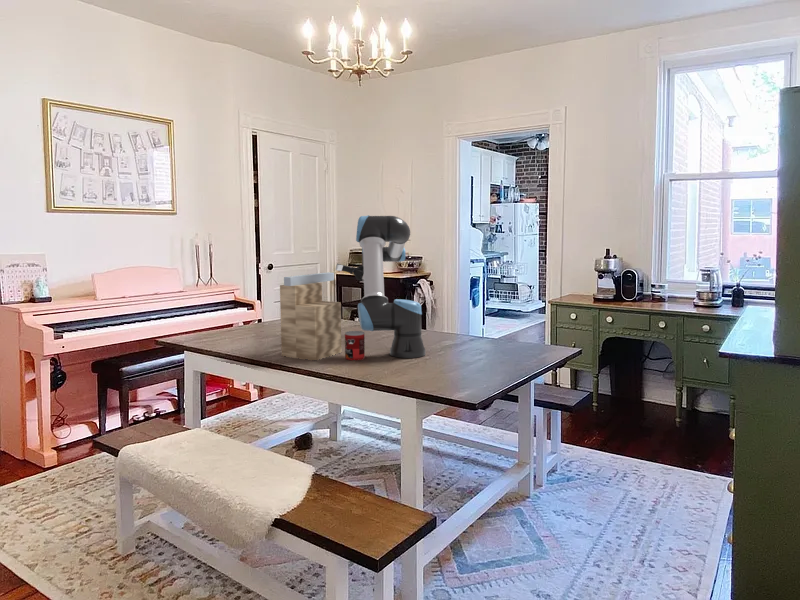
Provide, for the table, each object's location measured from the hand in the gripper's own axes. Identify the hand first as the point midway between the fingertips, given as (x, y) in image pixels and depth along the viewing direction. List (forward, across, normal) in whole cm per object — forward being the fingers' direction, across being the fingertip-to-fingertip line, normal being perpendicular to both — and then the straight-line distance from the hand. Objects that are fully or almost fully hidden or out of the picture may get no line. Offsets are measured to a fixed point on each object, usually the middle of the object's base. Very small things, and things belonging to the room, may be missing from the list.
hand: (350, 272), depth 276 cm
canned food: (+28, -23, -32) cm, 48 cm away
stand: (+24, -2, -37) cm, 44 cm away
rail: (+21, +9, -8) cm, 24 cm away
